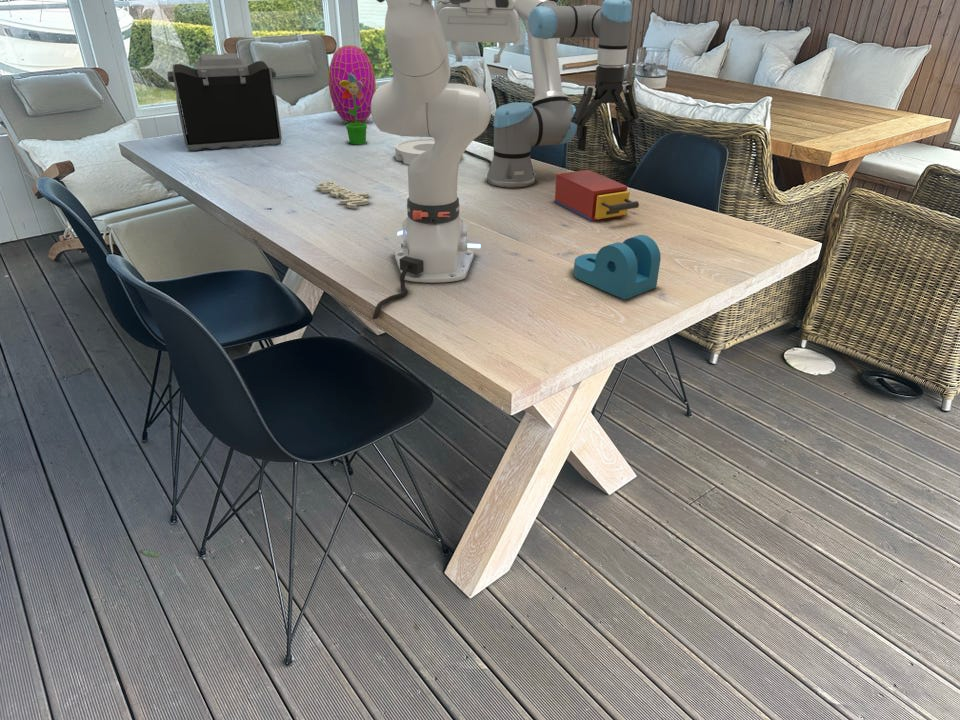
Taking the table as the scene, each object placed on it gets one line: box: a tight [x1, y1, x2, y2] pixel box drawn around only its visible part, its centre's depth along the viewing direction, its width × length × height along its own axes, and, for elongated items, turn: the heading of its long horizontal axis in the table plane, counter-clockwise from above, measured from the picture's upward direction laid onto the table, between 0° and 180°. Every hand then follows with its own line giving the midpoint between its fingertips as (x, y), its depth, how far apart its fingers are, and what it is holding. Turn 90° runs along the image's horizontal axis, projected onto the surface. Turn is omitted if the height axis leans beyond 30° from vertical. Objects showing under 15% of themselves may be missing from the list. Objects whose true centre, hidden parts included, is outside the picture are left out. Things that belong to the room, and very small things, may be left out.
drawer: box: [595, 190, 640, 220], centre depth 191 cm, size 22×10×6 cm, turn 27°
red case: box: [554, 169, 628, 222], centre depth 195 cm, size 19×11×8 cm, turn 27°
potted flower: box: [339, 73, 368, 145], centre depth 255 cm, size 9×8×25 cm
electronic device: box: [166, 52, 283, 152], centre depth 253 cm, size 37×22×30 cm, turn 111°
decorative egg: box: [328, 44, 377, 124], centre depth 286 cm, size 19×19×30 cm
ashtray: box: [394, 138, 435, 166], centre depth 243 cm, size 23×23×4 cm
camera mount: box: [573, 234, 662, 301], centre depth 150 cm, size 18×10×10 cm, turn 39°
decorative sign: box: [316, 180, 370, 210], centre depth 205 cm, size 26×1×10 cm
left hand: (478, 62), depth 170 cm, fingers open, 8 cm apart
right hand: (602, 147), depth 191 cm, fingers open, 13 cm apart
